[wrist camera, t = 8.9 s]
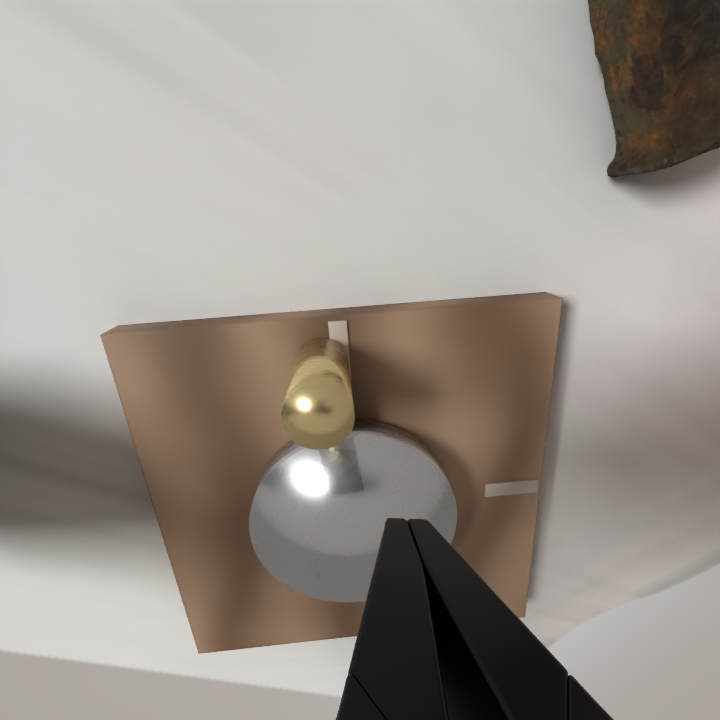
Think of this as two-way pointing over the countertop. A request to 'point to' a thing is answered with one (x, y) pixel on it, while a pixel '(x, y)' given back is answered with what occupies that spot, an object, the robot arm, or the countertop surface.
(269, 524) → the dial
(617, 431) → the countertop surface
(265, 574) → the dial panel
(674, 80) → the hand tool
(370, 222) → the countertop surface
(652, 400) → the countertop surface
